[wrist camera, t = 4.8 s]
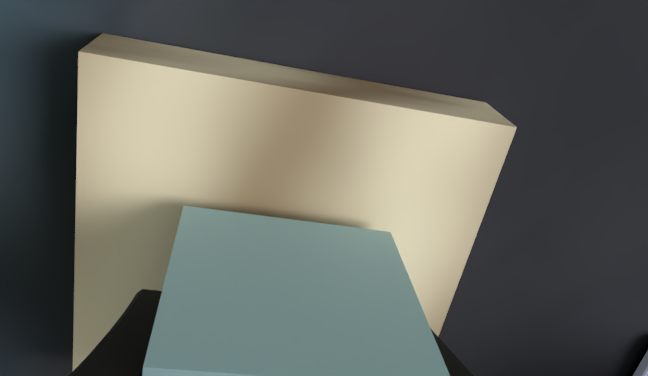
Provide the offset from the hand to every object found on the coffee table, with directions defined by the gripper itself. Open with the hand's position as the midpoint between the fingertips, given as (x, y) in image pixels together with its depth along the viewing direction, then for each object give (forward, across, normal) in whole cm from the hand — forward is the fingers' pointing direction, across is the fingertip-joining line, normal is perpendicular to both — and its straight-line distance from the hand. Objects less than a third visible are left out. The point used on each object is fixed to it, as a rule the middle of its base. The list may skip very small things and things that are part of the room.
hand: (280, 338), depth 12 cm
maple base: (+4, 0, 0) cm, 4 cm away
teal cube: (+2, 0, 0) cm, 2 cm away
